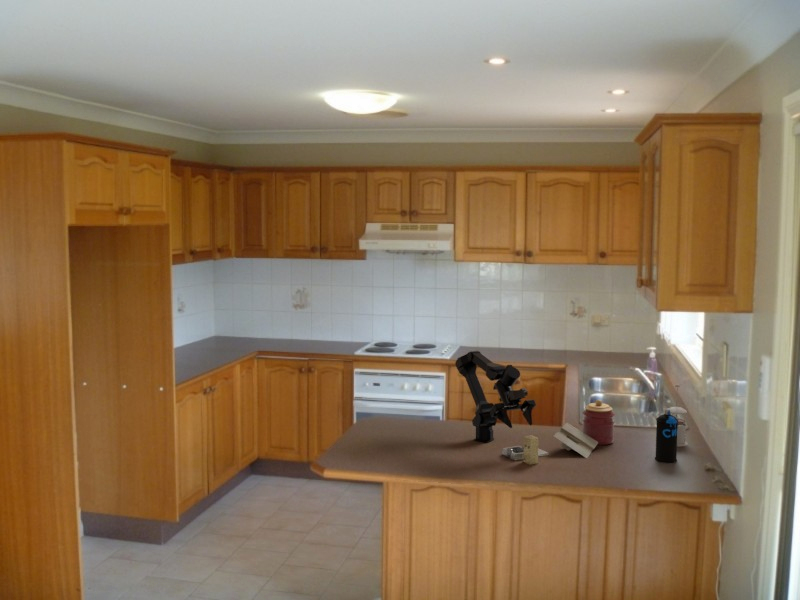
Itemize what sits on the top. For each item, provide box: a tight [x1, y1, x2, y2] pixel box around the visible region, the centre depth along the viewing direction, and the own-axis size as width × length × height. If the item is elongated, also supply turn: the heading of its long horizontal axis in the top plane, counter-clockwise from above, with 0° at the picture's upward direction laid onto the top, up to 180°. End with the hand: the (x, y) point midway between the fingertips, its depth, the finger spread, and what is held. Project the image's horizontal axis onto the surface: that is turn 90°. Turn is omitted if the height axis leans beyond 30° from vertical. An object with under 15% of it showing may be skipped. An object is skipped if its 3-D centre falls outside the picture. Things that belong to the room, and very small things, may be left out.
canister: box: [582, 399, 615, 446], centre depth 330 cm, size 13×13×18 cm
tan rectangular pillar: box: [523, 434, 539, 466], centre depth 301 cm, size 4×4×10 cm
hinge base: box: [502, 445, 550, 461], centre depth 311 cm, size 17×9×3 cm, turn 115°
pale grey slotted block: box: [553, 422, 598, 459], centre depth 318 cm, size 16×9×15 cm
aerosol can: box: [654, 408, 679, 464], centre depth 304 cm, size 8×8×20 cm
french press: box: [667, 383, 688, 447], centre depth 327 cm, size 10×12×25 cm
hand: (521, 426), depth 306 cm, fingers open, 9 cm apart
